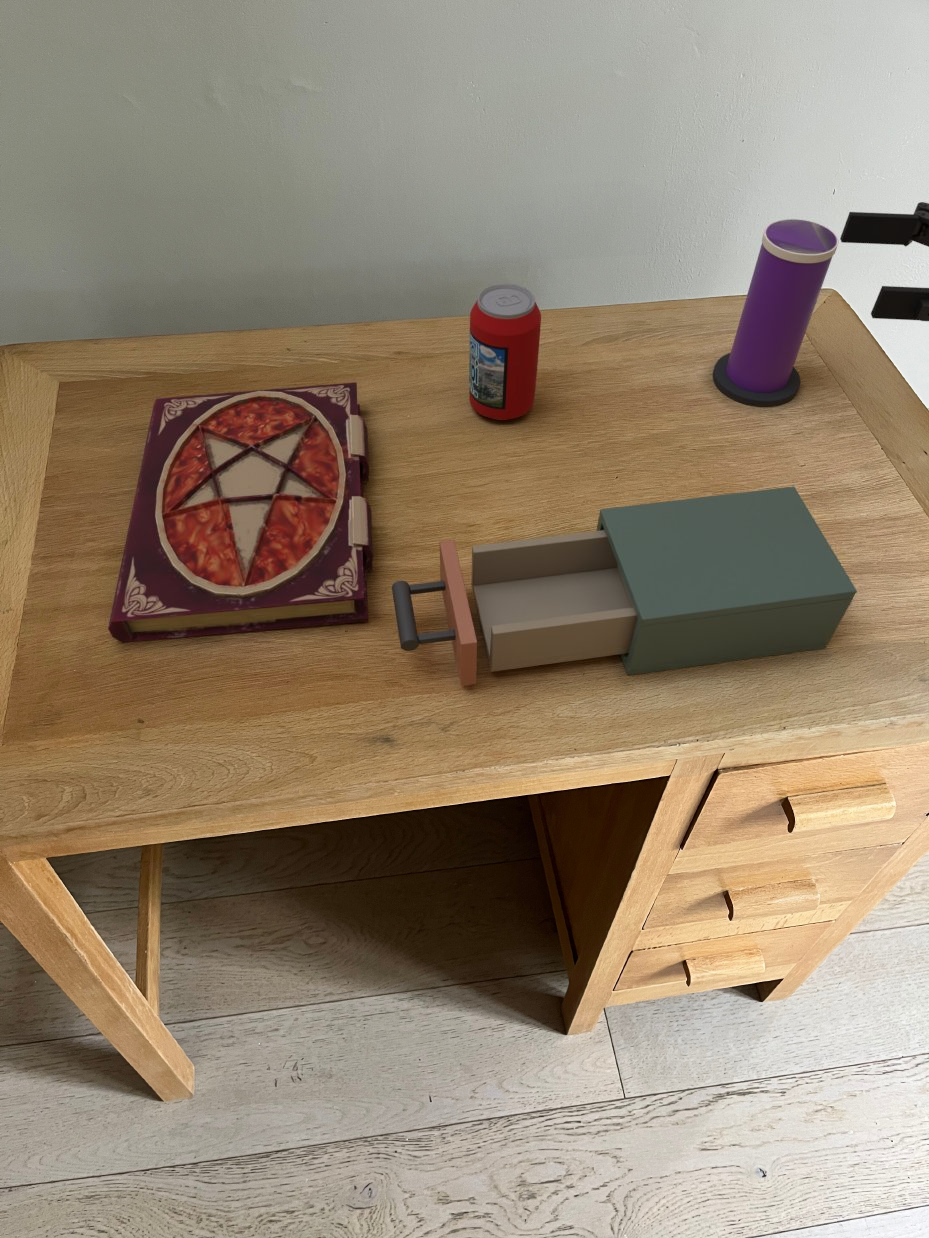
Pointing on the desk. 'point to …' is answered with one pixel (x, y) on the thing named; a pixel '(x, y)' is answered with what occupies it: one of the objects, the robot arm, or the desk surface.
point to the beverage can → (503, 351)
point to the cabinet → (725, 578)
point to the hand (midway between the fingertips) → (860, 262)
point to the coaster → (749, 396)
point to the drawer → (528, 603)
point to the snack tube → (780, 303)
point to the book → (248, 516)
